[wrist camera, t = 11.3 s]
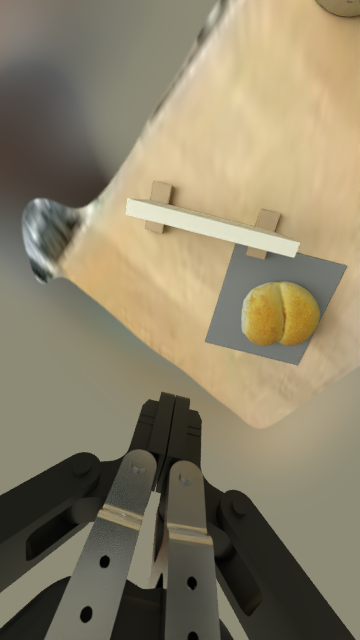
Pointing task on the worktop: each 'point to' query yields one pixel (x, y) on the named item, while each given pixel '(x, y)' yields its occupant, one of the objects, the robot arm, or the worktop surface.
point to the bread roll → (279, 314)
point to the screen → (212, 224)
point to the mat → (255, 272)
